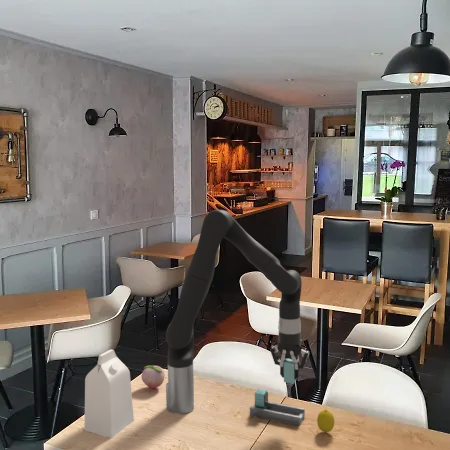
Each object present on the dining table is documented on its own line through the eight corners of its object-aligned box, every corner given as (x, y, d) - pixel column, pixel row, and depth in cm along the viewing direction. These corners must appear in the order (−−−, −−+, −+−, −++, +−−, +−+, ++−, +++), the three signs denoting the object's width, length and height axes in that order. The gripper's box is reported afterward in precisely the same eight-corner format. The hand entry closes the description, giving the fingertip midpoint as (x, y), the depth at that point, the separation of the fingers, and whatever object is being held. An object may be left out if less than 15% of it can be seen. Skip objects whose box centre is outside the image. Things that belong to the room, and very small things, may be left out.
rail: (249, 415, 172) (249, 394, 171) (256, 406, 178) (256, 386, 177) (299, 426, 165) (299, 403, 164) (304, 416, 171) (304, 395, 170)
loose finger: (296, 379, 168) (296, 359, 167) (293, 383, 165) (293, 363, 164) (285, 377, 170) (285, 358, 169) (282, 381, 166) (282, 361, 166)
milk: (107, 413, 174) (104, 344, 171) (133, 420, 169) (131, 349, 166) (84, 430, 164) (80, 356, 160) (111, 438, 159) (108, 362, 155)
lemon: (334, 438, 157) (334, 414, 156) (316, 436, 158) (317, 413, 157) (334, 429, 163) (334, 406, 162) (317, 427, 164) (317, 404, 163)
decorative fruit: (169, 385, 196) (168, 361, 195) (159, 394, 189) (158, 369, 187) (148, 381, 200) (148, 358, 198) (138, 390, 192) (137, 366, 191)
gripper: (313, 328, 165) (312, 376, 168) (273, 323, 171) (273, 370, 173) (307, 335, 159) (307, 385, 161) (266, 330, 165) (266, 378, 167)
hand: (289, 377), depth 167 cm, fingers closed on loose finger, 4 cm apart
